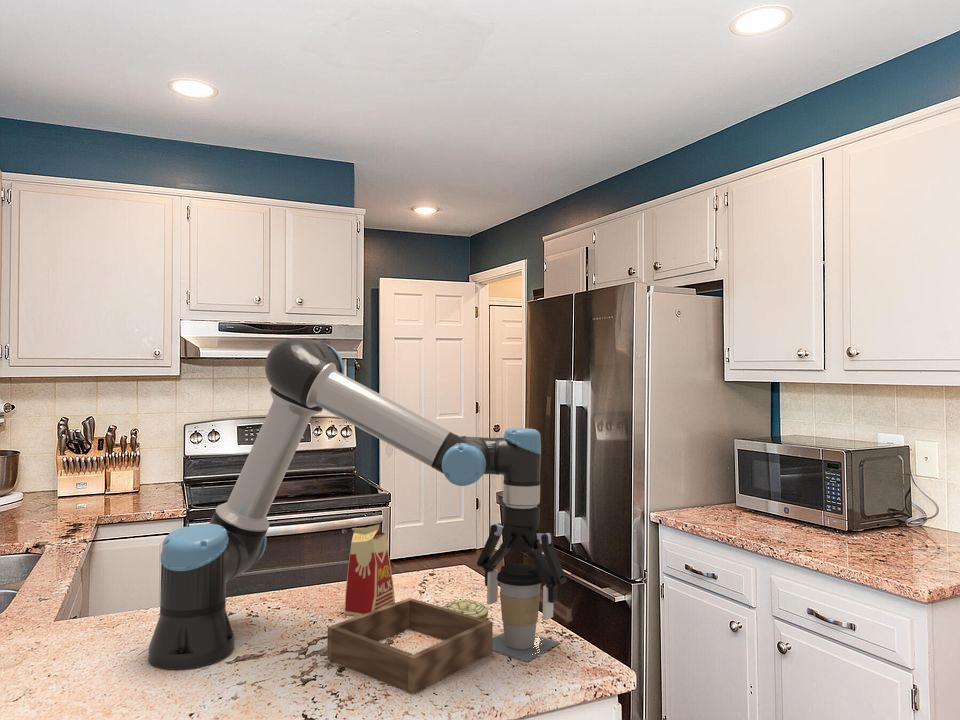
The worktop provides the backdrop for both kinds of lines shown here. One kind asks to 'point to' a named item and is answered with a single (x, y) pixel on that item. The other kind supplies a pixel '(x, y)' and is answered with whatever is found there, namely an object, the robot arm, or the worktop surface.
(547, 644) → the mat
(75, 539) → the worktop surface
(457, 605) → the decorated donut
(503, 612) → the coffee cup
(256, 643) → the worktop surface
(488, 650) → the frame
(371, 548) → the milk carton
